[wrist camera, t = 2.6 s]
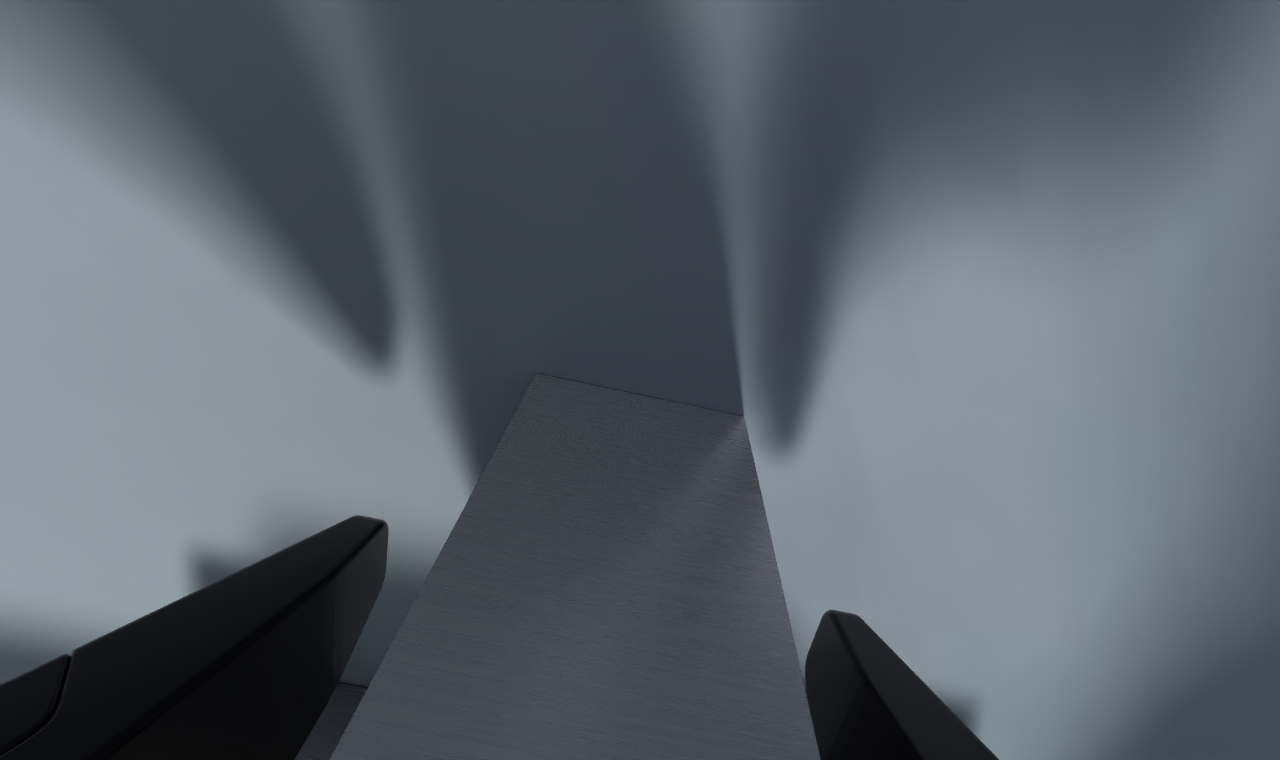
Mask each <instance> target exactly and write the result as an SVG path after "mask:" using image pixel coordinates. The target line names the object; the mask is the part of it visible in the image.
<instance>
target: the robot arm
mask: <svg viewBox="0 0 1280 760" xmlns="http://www.w3.org/2000/svg"><path fill="white" fill-rule="evenodd" d="M387 546H388V525H387V523H386V522H385V521H384V520H380V519H375V518H370V517H365V516H359V515H357V516H353V517H350V518H348V519H346V520H344V521H342V522H340V523H338V524H336V525H334V526H332V527H330V528H327V529H325V530H323V531H321V532H319V533H317V534H315V535H313V536H311V537H309V538H307V539H304V540H302V541H300V542H298V543H296V544H294V545H292V546H290V547H288V548H286V549H284V550H281V551H279V552H277V553H275V554H273V555H271V556H269V557H267V558H265V559H263V560H261V561H258V562H256V563H254V564H252V565H250V566H248V567H246V568H244V569H242V570H240V571H238V572H235V573H233V574H231V575H229V576H227V577H225V578H223V579H221V580H219V581H217V582H215V583H212V584H210V585H208V586H206V587H204V588H202V589H200V590H198V591H196V592H194V593H192V594H189V595H187V596H185V597H183V598H181V599H179V600H177V601H175V602H173V603H171V604H169V605H166V606H164V607H162V608H160V609H158V610H156V611H154V612H152V613H150V614H148V615H146V616H143V617H141V618H139V619H137V620H135V621H133V622H131V623H129V624H127V625H125V626H123V627H120V628H118V629H116V630H114V631H112V632H110V633H108V634H106V635H104V636H102V637H100V638H97V639H95V640H93V641H91V642H89V643H87V644H85V645H83V646H81V647H79V648H77V649H75V650H74V651H73V652H72V654H71V656H70V655H68V654H64V655H61V656H59V657H57V658H55V659H53V660H51V661H49V662H47V663H45V664H43V665H41V666H38V667H36V668H34V669H32V670H30V671H28V672H26V673H24V674H22V675H19V676H17V677H15V678H13V679H11V680H9V681H6V682H4V683H2V684H0V760H295V758H296V757H297V755H298V753H299V752H300V750H301V748H302V746H303V745H304V743H305V741H306V740H307V738H308V736H309V735H310V733H311V731H312V730H313V728H314V726H315V725H316V723H317V721H318V719H319V718H320V716H321V714H322V713H323V711H324V709H325V707H326V705H327V704H328V702H329V700H330V698H331V697H332V695H333V693H334V690H335V688H336V686H337V684H338V682H339V680H340V678H341V676H342V674H343V671H344V669H345V667H346V665H347V663H348V660H349V658H350V656H351V654H352V652H353V649H354V647H355V645H356V643H357V641H358V638H359V636H360V634H361V632H362V630H363V627H364V625H365V623H366V621H367V619H368V616H369V614H370V612H371V610H372V608H373V605H374V603H375V601H376V599H377V597H378V594H379V592H380V590H381V587H382V584H383V581H384V578H385V572H386V560H387ZM805 677H806V692H807V701H808V705H809V710H810V714H811V719H812V723H813V728H814V732H815V737H816V741H817V746H818V750H819V755H820V759H821V760H999V759H998V758H997V757H996V756H995V755H994V754H993V753H992V752H991V751H990V750H989V749H988V748H987V747H986V746H985V745H984V744H983V743H982V742H981V741H980V740H979V739H978V738H977V736H976V735H975V734H974V733H973V732H972V731H971V730H970V729H969V728H968V727H967V726H966V725H965V724H964V723H963V722H962V721H961V720H960V719H959V718H958V717H957V716H956V715H955V714H954V713H953V712H952V711H951V710H950V709H949V708H948V707H947V706H946V705H945V704H944V703H943V702H942V701H941V700H940V699H939V698H938V696H937V695H936V694H935V693H934V692H933V691H932V690H931V689H930V688H929V687H928V686H927V685H926V684H925V683H924V682H923V681H922V680H921V679H920V678H919V677H918V676H917V675H916V674H915V673H914V672H913V671H912V670H911V669H910V668H909V667H908V666H907V665H906V664H905V663H904V662H903V661H902V660H901V659H900V658H899V657H898V655H897V654H896V653H895V652H894V651H893V650H892V649H891V648H890V647H889V646H888V645H887V644H886V643H885V642H884V641H883V640H882V639H881V638H880V637H879V636H878V635H877V634H876V633H875V632H874V631H873V630H872V629H871V628H870V627H869V626H868V625H867V624H866V623H865V622H864V621H863V620H862V619H861V618H860V617H859V616H857V615H855V614H851V613H846V612H841V611H836V610H829V611H827V612H826V613H825V614H824V615H823V617H822V619H821V621H820V624H819V627H818V629H817V632H816V634H815V637H814V639H813V642H812V644H811V647H810V649H809V652H808V655H807V659H806V665H805Z"/></svg>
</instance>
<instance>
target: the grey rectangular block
mask: <svg viewBox="0 0 1280 760" xmlns="http://www.w3.org/2000/svg"><path fill="white" fill-rule="evenodd" d="M330 760H821V759H820V755H819V750H818V746H817V741H816V737H815V732H814V728H813V723H812V719H811V714H810V710H809V705H808V701H807V696H806V692H805V687H804V683H803V678H802V674H801V669H800V665H799V660H798V656H797V651H796V647H795V642H794V638H793V633H792V629H791V624H790V620H789V615H788V611H787V607H786V602H785V598H784V593H783V589H782V584H781V580H780V575H779V571H778V566H777V562H776V557H775V553H774V548H773V544H772V539H771V535H770V530H769V526H768V521H767V517H766V512H765V508H764V503H763V499H762V494H761V490H760V485H759V481H758V476H757V472H756V467H755V463H754V458H753V454H752V449H751V445H750V440H749V436H748V431H747V427H746V422H745V418H744V417H743V416H738V415H734V414H729V413H724V412H719V411H715V410H710V409H705V408H700V407H695V406H691V405H686V404H681V403H676V402H671V401H667V400H662V399H657V398H652V397H648V396H643V395H638V394H633V393H628V392H624V391H619V390H614V389H609V388H604V387H600V386H595V385H590V384H585V383H581V382H576V381H571V380H566V379H561V378H557V377H552V376H547V375H542V374H537V373H536V374H535V376H534V378H533V380H532V382H531V384H530V385H529V387H528V389H527V391H526V393H525V395H524V397H523V399H522V400H521V402H520V404H519V406H518V408H517V410H516V412H515V414H514V415H513V417H512V419H511V421H510V423H509V425H508V427H507V429H506V430H505V432H504V434H503V436H502V438H501V440H500V442H499V443H498V445H497V447H496V449H495V451H494V453H493V455H492V457H491V458H490V460H489V462H488V464H487V466H486V468H485V470H484V472H483V473H482V475H481V477H480V479H479V481H478V483H477V485H476V487H475V488H474V490H473V492H472V494H471V496H470V498H469V500H468V502H467V503H466V505H465V507H464V509H463V511H462V513H461V515H460V516H459V518H458V520H457V522H456V524H455V526H454V528H453V530H452V531H451V533H450V535H449V537H448V539H447V541H446V543H445V545H444V546H443V548H442V550H441V552H440V554H439V556H438V558H437V560H436V561H435V563H434V565H433V567H432V569H431V571H430V573H429V575H428V576H427V578H426V580H425V582H424V584H423V586H422V588H421V589H420V591H419V593H418V595H417V597H416V599H415V601H414V603H413V604H412V606H411V608H410V610H409V612H408V614H407V616H406V618H405V619H404V621H403V623H402V625H401V627H400V629H399V631H398V633H397V634H396V636H395V638H394V640H393V642H392V644H391V646H390V648H389V649H388V651H387V653H386V655H385V657H384V659H383V661H382V662H381V664H380V666H379V668H378V670H377V672H376V674H375V676H374V677H373V679H372V681H371V683H370V685H369V687H368V689H367V691H366V692H365V694H364V696H363V698H362V700H361V702H360V704H359V706H358V707H357V709H356V711H355V713H354V715H353V717H352V719H351V721H350V722H349V724H348V726H347V728H346V730H345V732H344V734H343V735H342V737H341V739H340V741H339V743H338V745H337V747H336V749H335V750H334V752H333V754H332V756H331V758H330Z"/></svg>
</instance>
